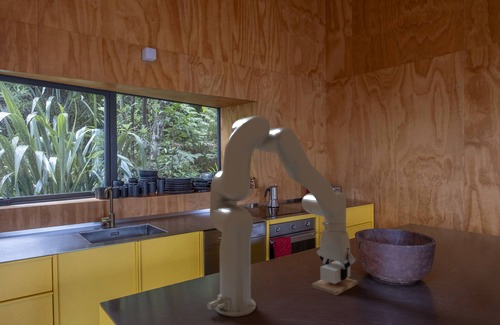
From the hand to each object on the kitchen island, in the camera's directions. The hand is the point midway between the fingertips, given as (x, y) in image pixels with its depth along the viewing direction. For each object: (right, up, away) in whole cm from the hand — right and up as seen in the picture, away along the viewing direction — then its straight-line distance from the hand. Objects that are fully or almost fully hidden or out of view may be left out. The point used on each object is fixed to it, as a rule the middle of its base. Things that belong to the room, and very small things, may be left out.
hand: (335, 276), depth 124 cm
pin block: (0, -3, 0) cm, 3 cm away
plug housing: (0, -1, 0) cm, 1 cm away
